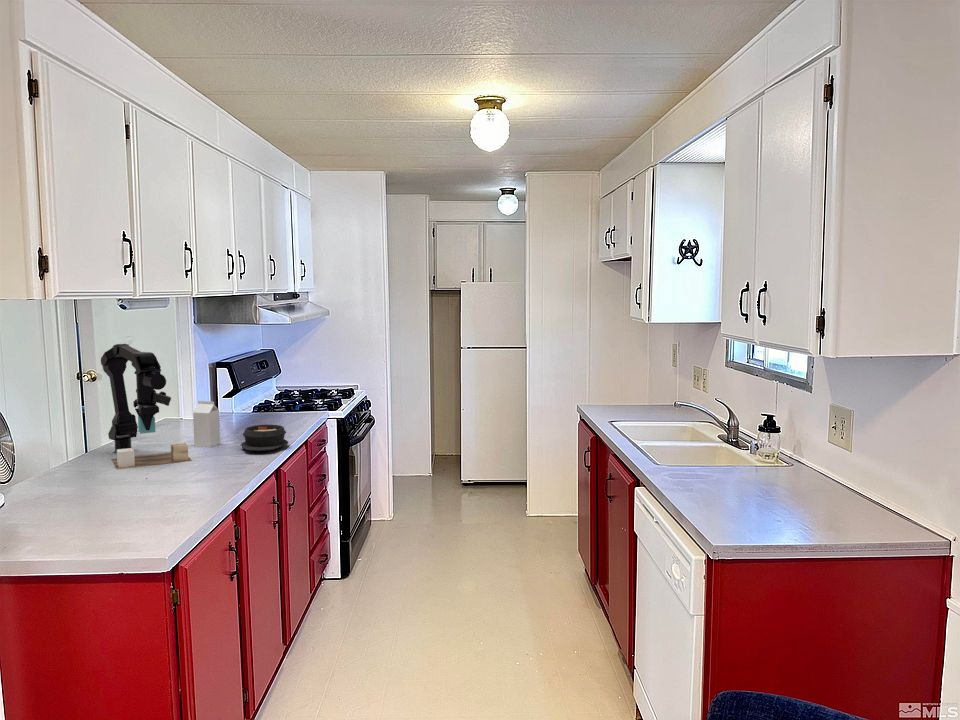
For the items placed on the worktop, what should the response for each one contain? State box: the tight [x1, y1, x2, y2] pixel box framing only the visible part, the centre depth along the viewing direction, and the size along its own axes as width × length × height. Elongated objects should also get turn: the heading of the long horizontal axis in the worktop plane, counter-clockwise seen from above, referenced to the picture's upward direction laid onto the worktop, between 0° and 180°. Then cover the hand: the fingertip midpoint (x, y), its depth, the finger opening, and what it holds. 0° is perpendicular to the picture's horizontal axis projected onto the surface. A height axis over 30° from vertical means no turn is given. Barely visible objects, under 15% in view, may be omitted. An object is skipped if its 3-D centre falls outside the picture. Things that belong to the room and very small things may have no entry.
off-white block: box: [116, 447, 135, 468], centre depth 255 cm, size 5×5×6 cm
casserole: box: [240, 424, 289, 452], centre depth 290 cm, size 25×19×8 cm
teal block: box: [137, 415, 156, 434], centre depth 263 cm, size 5×5×6 cm
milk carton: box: [192, 400, 221, 448], centre depth 288 cm, size 7×7×19 cm
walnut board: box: [110, 452, 193, 470], centre depth 263 cm, size 18×25×1 cm
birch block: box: [170, 442, 189, 461], centre depth 264 cm, size 5×5×6 cm
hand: (146, 429), depth 263 cm, fingers closed on teal block, 5 cm apart
